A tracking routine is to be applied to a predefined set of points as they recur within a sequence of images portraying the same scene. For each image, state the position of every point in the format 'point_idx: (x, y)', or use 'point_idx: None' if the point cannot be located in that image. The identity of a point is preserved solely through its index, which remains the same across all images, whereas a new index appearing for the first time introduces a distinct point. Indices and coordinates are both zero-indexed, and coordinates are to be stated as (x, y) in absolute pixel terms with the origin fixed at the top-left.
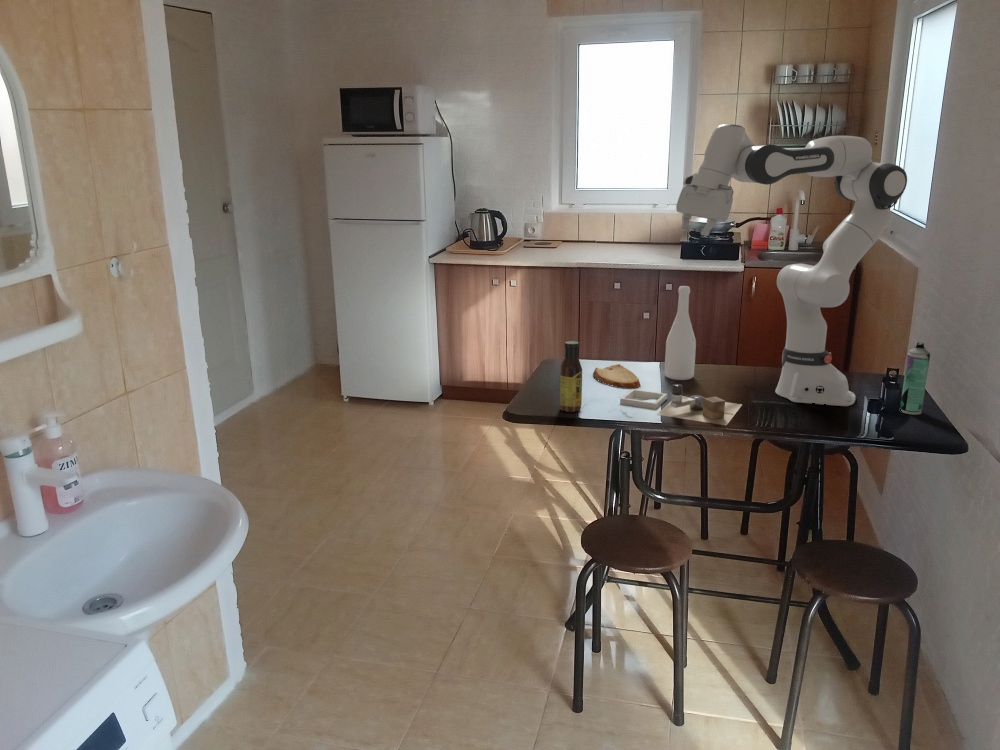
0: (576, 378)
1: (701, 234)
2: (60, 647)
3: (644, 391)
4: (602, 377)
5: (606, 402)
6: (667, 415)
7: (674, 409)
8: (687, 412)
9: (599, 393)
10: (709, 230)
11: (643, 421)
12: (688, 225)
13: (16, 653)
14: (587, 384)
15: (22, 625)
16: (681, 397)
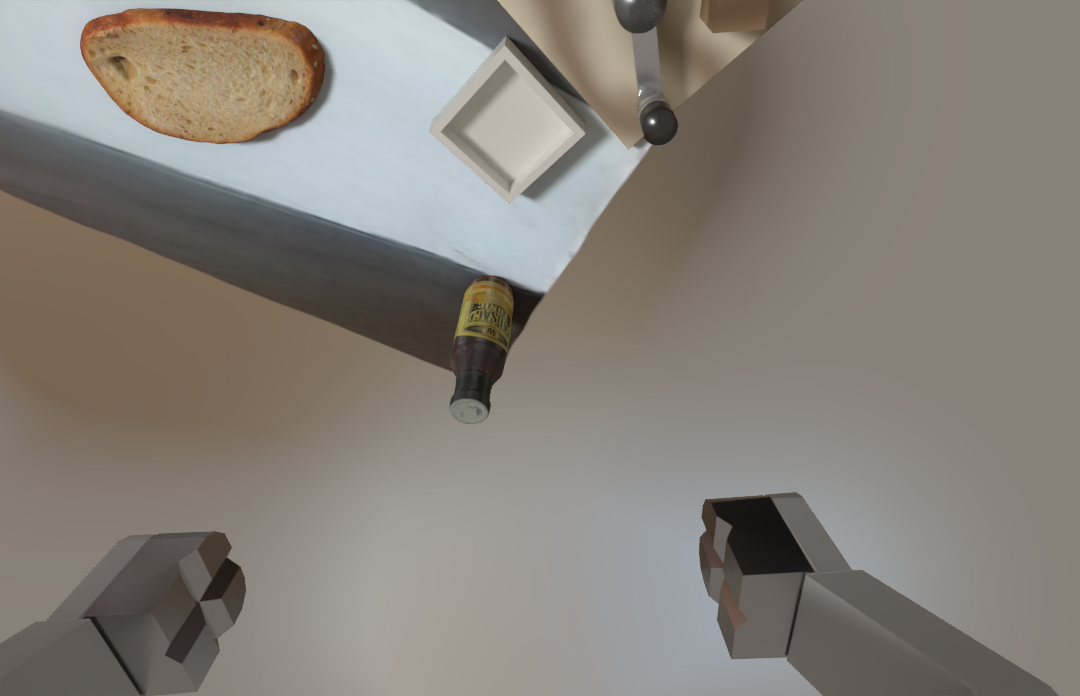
0: (507, 344)
1: (713, 548)
2: None
3: (461, 107)
4: (247, 140)
5: (453, 200)
6: None
7: (611, 76)
8: None
9: (369, 186)
10: (842, 571)
11: (623, 179)
12: (172, 639)
13: None
14: (276, 182)
15: None
16: (669, 104)
